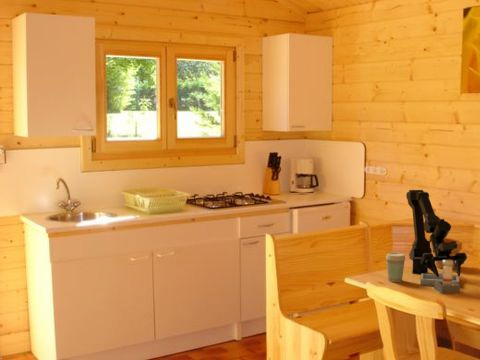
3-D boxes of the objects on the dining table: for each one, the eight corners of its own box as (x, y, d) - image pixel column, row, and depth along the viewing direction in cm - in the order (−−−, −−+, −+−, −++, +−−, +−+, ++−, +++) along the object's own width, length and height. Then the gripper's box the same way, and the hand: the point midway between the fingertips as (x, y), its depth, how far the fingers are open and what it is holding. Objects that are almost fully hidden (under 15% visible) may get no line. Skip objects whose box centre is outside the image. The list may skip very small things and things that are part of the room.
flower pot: (437, 262, 334) (438, 236, 333) (465, 266, 325) (466, 240, 324) (425, 267, 323) (426, 241, 322) (454, 271, 314) (455, 244, 313)
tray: (420, 284, 291) (420, 279, 291) (421, 278, 301) (421, 273, 301) (459, 287, 286) (459, 281, 286) (458, 281, 297) (458, 275, 296)
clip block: (434, 288, 285) (434, 281, 285) (452, 287, 286) (452, 280, 286) (441, 293, 277) (441, 286, 277) (460, 292, 278) (460, 285, 278)
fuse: (441, 291, 280) (442, 261, 279) (441, 288, 284) (442, 258, 283) (452, 292, 279) (453, 261, 278) (452, 289, 283) (453, 259, 282)
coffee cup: (406, 279, 300) (407, 253, 299) (402, 284, 293) (403, 257, 291) (387, 277, 304) (388, 251, 303) (383, 282, 296) (383, 255, 295)
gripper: (423, 234, 282) (432, 266, 272) (465, 233, 284) (476, 265, 274) (416, 249, 291) (425, 280, 281) (457, 248, 293) (467, 279, 283)
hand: (448, 276), depth 279 cm, fingers open, 9 cm apart
